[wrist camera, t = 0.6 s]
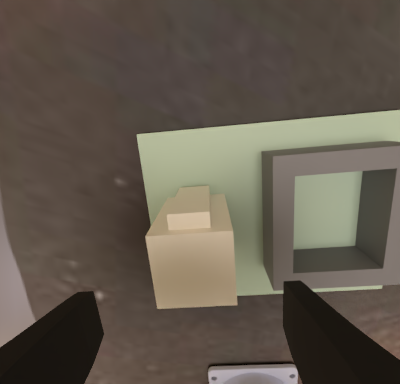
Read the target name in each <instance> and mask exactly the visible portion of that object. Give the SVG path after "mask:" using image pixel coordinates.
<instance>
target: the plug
mask: <svg viewBox="0 0 400 384" xmlns="http://www.w3.org/2000/svg"><path fill="white" fill-rule="evenodd" d="M145 238H146V244H147V250H148V256H149V262H150V268H151V274H152V280H153V286H154V292H155V298H156V304H157V309H166V308H188V307H209V306H230V305H237V290H236V272H235V254H234V236H233V228H232V224H231V219H230V215H229V211H228V207H227V202H226V198H225V194H212V195H210V189H209V185H206V186H194V187H181V188H179V190H178V192H177V194H176V196H175V197H172V198H167V200H166V202H165V203H164V205H163V207H162V208H161V210H160V212H159V214H158V215H157V217H156V219H155V221H154V222H153V224H152V226H151V227H150V229H149V231H148V233H147V234H146V236H145Z"/></svg>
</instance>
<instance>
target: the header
mask: <svg viewBox="0 0 400 384" xmlns="http://www.w3.org/2000/svg"><path fill="white" fill-rule="evenodd" d="M137 141H138V147H139V153H140V160H141V166H142V172H143V179H144V185H145V191H146V198H147V204H148V210H149V217H150V223H151V226H152V224H153V222H154V221H155V219H156V217H157V215H158V214H159V212H160V210H161V208H162V207H163V205H164V203H165V202H166V200H167V198H172V197H175V196H176V194H177V192H178V190H179V188H181V187H194V186H206V185H209V189H210V195H212V194H225V198H226V202H227V207H228V211H229V215H230V219H231V224H232V228H233V236H234V254H235V272H236V290H237V296H243V295H263V294H283V281H298V280H301V281H302V282H303V283H304V284H305V285H307V286H308V287H309V288H310V289H311V290H312V291H313V292H324V291H344V290H364V289H382V285H398V284H400V110H393V111H383V112H372V113H361V114H350V115H340V116H329V117H318V118H307V119H296V120H286V121H275V122H264V123H253V124H243V125H232V126H221V127H210V128H200V129H189V130H178V131H167V132H156V133H146V134H137Z"/></svg>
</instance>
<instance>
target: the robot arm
mask: <svg viewBox="0 0 400 384" xmlns="http://www.w3.org/2000/svg"><path fill="white" fill-rule="evenodd" d="M283 328H284V331H285V335H286V338H287V342H288V345H289V348H290V352H291V355H292V358H293V361H294V363H295V365H294V364H270V365H239V366H212V367H210V368H209V369H208V378H209V384H298V373H299V376H300V378H301V380H302V383H303V384H400V360H399V359H398V358H396V357H395V356H393V355H392V354H391V353H389V352H388V351H387V350H385V349H384V348H383V347H381V346H380V345H379V344H377V343H376V342H375V341H373V340H372V339H371V338H369V337H368V336H367V335H365V334H364V333H363V332H362V331H360V330H359V329H358V328H356V327H355V326H354V325H353V324H351V323H350V322H349V321H348V320H347V319H345V318H344V317H343V316H342V315H340V314H339V313H338V312H337V311H336V310H334V309H333V308H332V307H331V306H330V305H329V304H327V303H326V302H325V301H324V300H323V299H322V298H320V297H319V296H318V295H317V294H316V293H315V292H313V291H312V290H311V289H310V288H309V287H308V286H307V285H305V284H304V283H303V282H302V281H301V280H298V281H283ZM103 335H104V332H103V328H102V324H101V320H100V316H99V312H98V308H97V304H96V300H95V296H94V292H93V291H90V292H78V293H76V294H74V295H73V296H71V297H70V298H68V299H67V300H66V301H64V302H63V303H61V304H60V305H59V306H57V307H56V308H54V309H53V310H52V311H50V312H49V313H48V314H46V315H45V316H43V317H42V318H41V319H39V320H38V321H37V322H35V323H34V324H33V325H31V326H30V327H28V328H27V329H26V330H24V331H23V332H22V333H20V334H19V335H17V336H16V337H15V338H13V339H12V340H10V341H9V342H7V343H6V344H5V345H3V346H2V347H0V384H84V383H85V381H86V379H87V376H88V374H89V372H90V370H91V368H92V366H93V364H94V361H95V358H96V355H97V353H98V350H99V347H100V344H101V341H102V338H103Z"/></svg>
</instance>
